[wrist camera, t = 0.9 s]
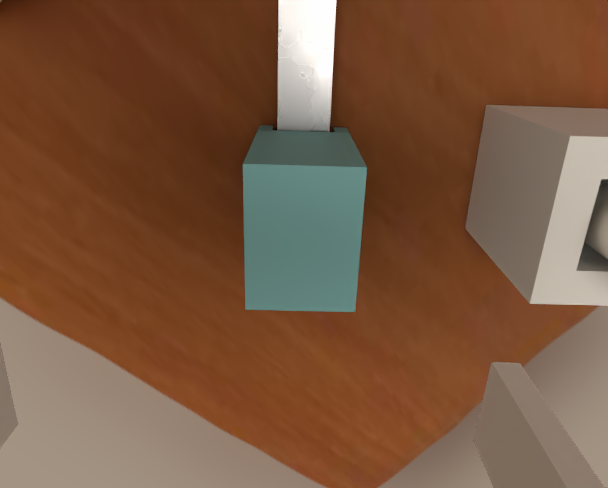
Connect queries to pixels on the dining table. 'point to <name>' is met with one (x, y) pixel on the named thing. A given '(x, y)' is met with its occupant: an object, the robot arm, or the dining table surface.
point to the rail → (305, 64)
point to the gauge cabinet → (542, 200)
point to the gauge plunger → (599, 223)
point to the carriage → (302, 220)
